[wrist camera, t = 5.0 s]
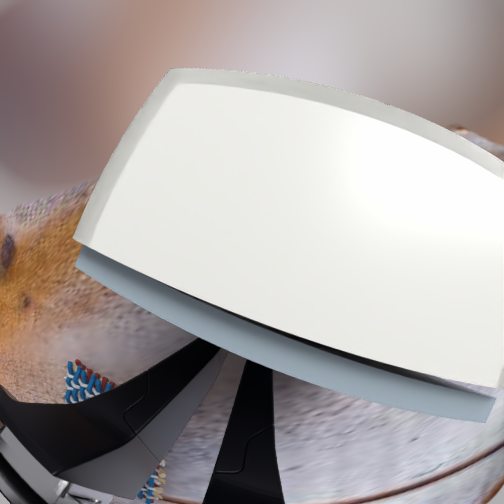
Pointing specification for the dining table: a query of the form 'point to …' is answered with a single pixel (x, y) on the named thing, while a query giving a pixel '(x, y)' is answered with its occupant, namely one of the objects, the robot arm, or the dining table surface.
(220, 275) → the box
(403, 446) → the dining table surface
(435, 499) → the dining table surface
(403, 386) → the box door
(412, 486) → the dining table surface
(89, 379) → the woven mat
